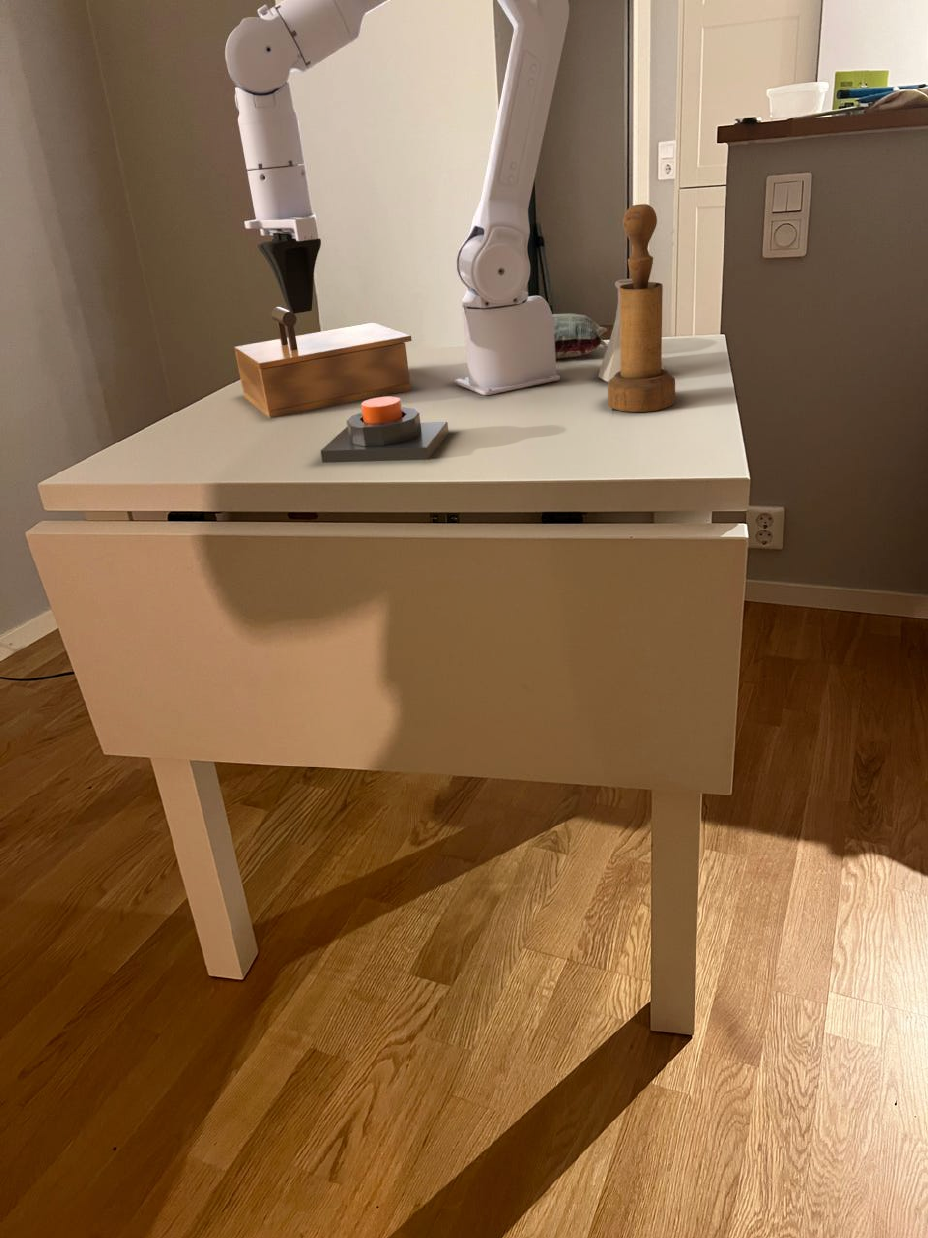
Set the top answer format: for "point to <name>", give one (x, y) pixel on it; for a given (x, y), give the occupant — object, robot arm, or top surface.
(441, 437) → the switch block
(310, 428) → the top surface
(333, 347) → the lid
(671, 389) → the mortar and pestle
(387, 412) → the button
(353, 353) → the wooden box
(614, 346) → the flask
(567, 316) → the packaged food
